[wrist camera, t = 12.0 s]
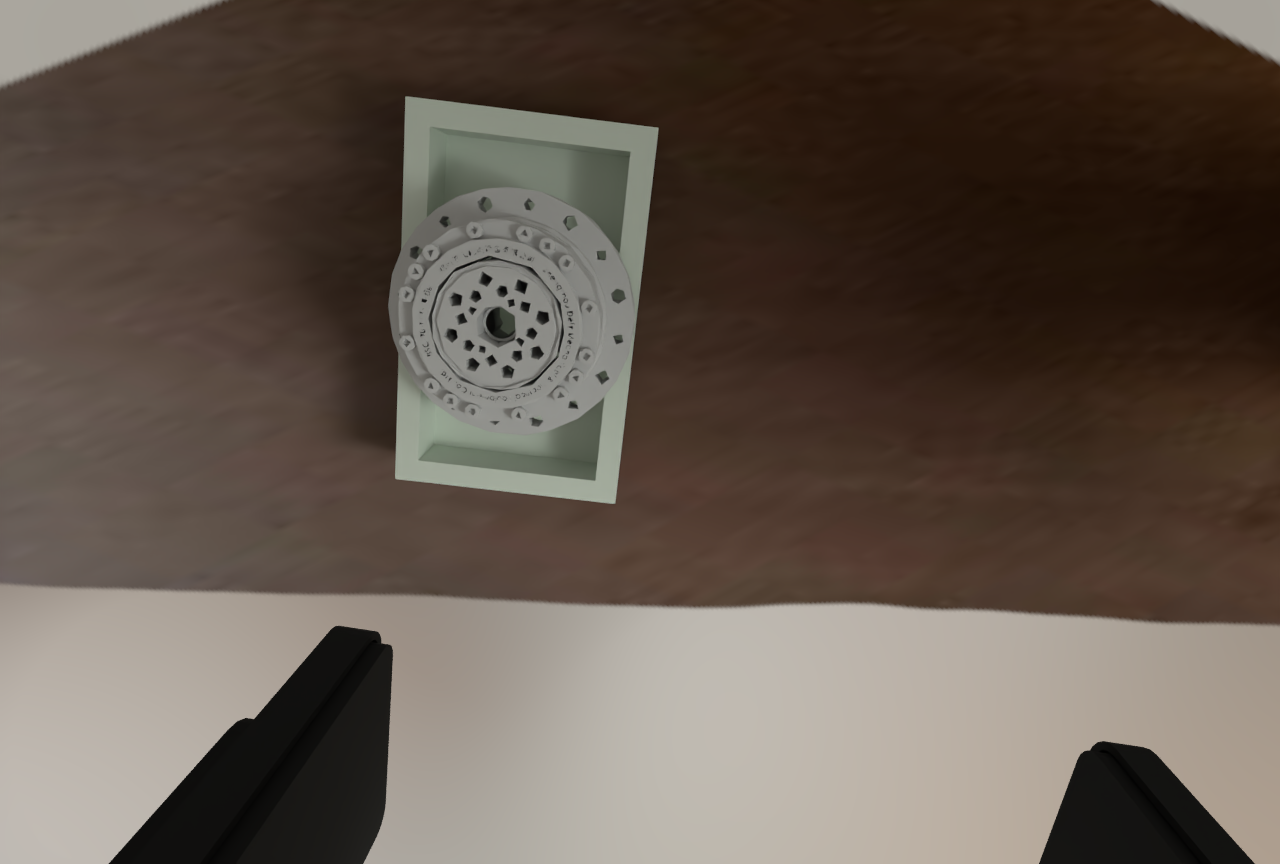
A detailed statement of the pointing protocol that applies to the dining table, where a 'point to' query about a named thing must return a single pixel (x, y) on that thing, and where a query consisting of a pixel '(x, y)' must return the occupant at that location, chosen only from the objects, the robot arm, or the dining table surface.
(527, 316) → the mechanical component
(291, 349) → the dining table surface
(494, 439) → the tray
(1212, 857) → the robot arm
